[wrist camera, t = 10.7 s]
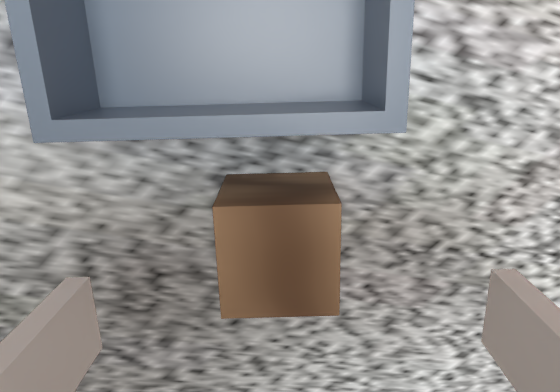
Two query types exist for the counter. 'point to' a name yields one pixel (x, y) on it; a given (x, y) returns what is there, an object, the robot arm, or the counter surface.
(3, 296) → the counter surface
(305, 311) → the walnut cube
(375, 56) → the tote
